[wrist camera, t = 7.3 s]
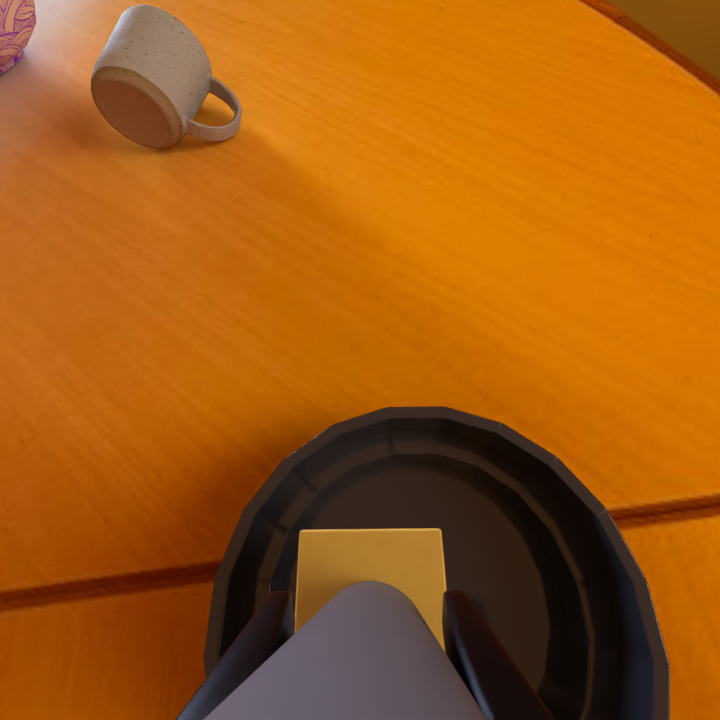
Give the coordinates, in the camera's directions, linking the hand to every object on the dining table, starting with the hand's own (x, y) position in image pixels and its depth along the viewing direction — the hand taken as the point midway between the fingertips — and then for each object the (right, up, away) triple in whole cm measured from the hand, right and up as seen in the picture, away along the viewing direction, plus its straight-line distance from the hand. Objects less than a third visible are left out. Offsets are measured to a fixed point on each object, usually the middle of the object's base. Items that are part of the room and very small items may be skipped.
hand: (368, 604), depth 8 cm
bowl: (+3, -7, +12) cm, 14 cm away
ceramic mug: (-16, +27, +29) cm, 43 cm away
